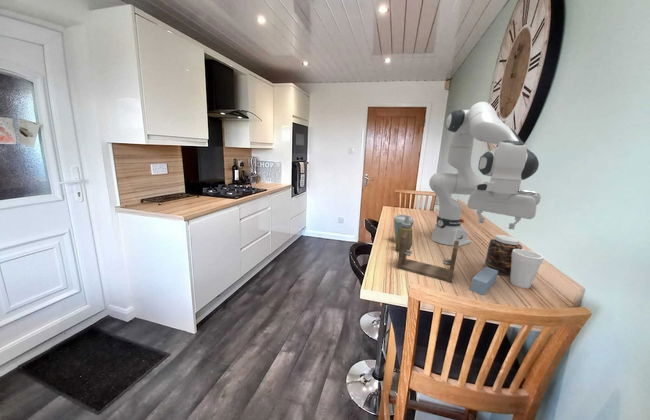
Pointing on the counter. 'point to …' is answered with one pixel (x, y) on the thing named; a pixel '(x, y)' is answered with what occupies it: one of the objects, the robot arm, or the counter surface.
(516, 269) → the foam cup
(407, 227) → the squeeze bottle
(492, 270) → the grey block
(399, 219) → the disposable coffee cup
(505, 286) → the counter surface
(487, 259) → the jar
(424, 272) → the shelf frame
